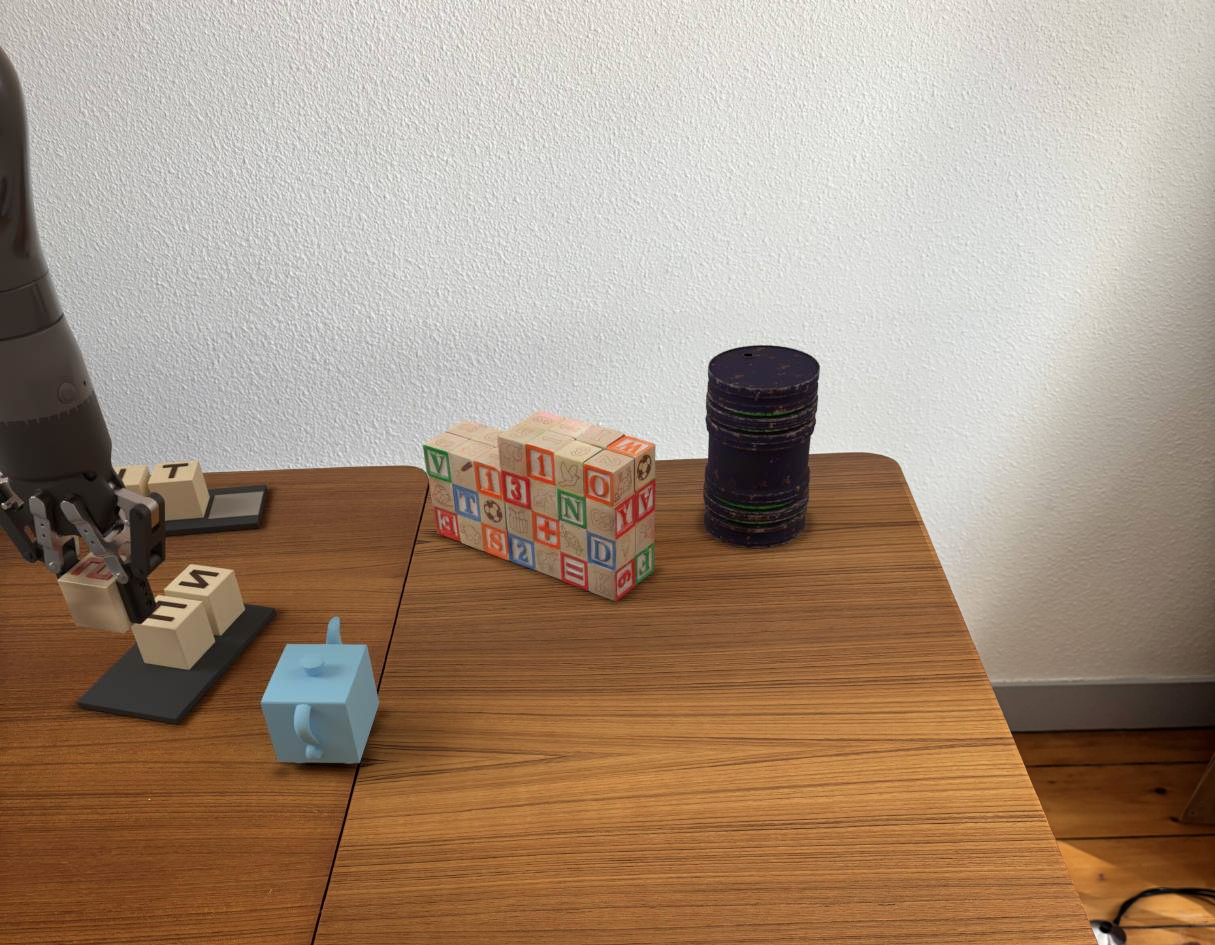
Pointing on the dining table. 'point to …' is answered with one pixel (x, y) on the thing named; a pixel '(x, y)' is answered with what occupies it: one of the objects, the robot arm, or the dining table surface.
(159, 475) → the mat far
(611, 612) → the dining table surface
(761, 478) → the storage jar
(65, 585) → the tile
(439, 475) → the stack of blocks
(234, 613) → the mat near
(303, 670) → the teapot
